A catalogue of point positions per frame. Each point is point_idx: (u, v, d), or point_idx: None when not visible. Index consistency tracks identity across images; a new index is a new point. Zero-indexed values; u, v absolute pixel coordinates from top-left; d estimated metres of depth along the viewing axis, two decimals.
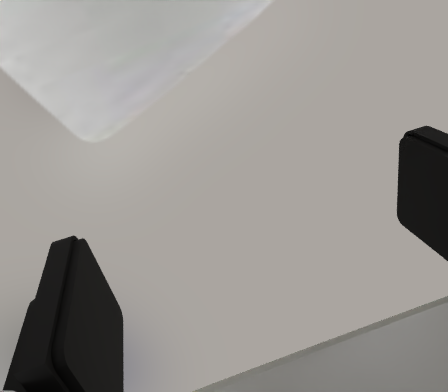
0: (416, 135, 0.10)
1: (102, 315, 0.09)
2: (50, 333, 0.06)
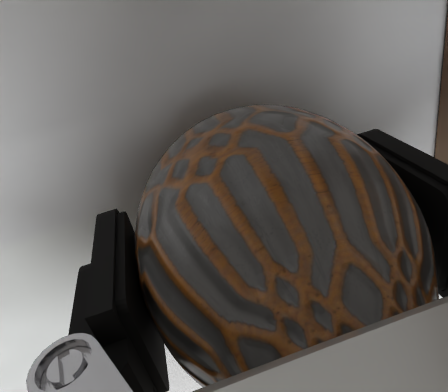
0: (365, 138, 0.10)
1: None
2: (111, 286, 0.07)
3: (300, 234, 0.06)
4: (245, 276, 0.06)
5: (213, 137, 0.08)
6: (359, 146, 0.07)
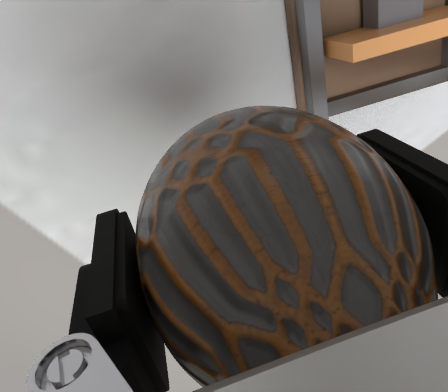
0: (365, 138, 0.10)
1: None
2: (111, 286, 0.07)
3: (300, 235, 0.06)
4: (245, 276, 0.06)
5: (213, 138, 0.08)
6: (359, 147, 0.07)
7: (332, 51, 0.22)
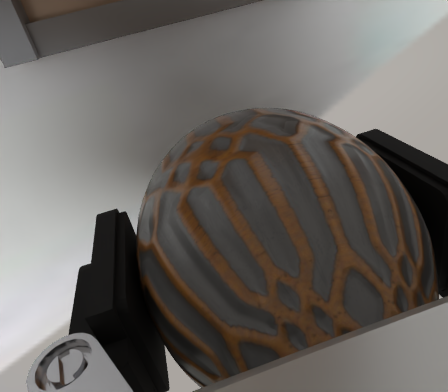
0: (364, 138, 0.10)
1: None
2: (111, 286, 0.07)
3: (301, 238, 0.06)
4: (246, 280, 0.06)
5: (214, 141, 0.08)
6: (360, 150, 0.07)
7: None
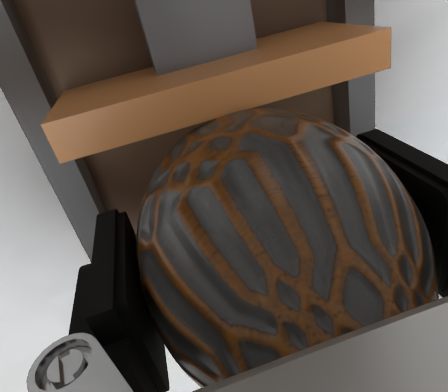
0: (364, 138, 0.10)
1: None
2: (111, 286, 0.07)
3: (301, 238, 0.06)
4: (246, 280, 0.06)
5: (214, 140, 0.08)
6: (359, 149, 0.07)
7: None
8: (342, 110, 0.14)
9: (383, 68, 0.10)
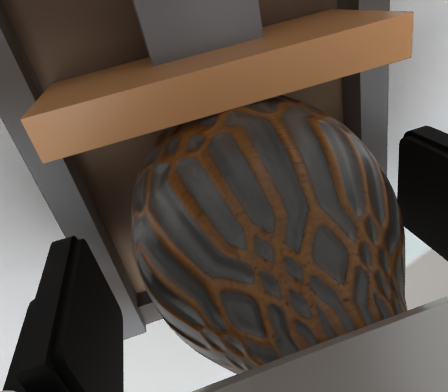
0: (416, 135, 0.10)
1: (102, 315, 0.09)
2: (50, 333, 0.06)
3: (277, 199, 0.07)
4: (227, 237, 0.07)
5: (203, 118, 0.08)
6: (335, 127, 0.08)
7: None
8: (353, 112, 0.13)
9: (403, 57, 0.09)
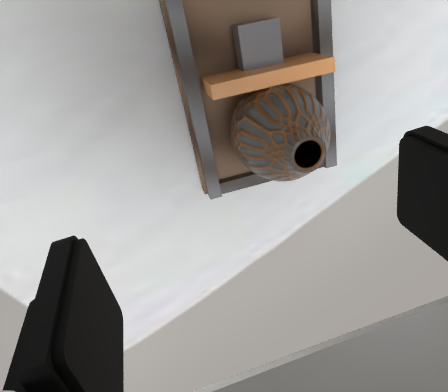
0: (416, 135, 0.10)
1: (102, 315, 0.09)
2: (50, 333, 0.06)
3: (288, 109, 0.23)
4: (274, 119, 0.23)
5: (263, 89, 0.25)
6: (307, 93, 0.25)
7: (205, 88, 0.26)
8: (319, 95, 0.30)
9: (332, 71, 0.26)
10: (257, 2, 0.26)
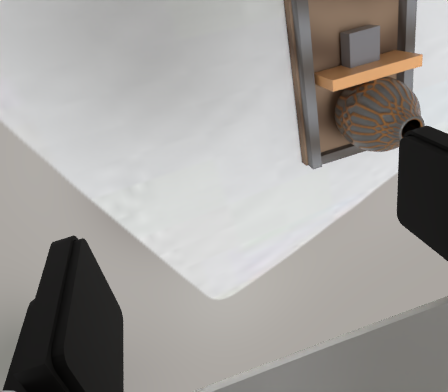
0: (416, 135, 0.10)
1: (102, 315, 0.09)
2: (50, 333, 0.06)
3: (394, 96, 0.31)
4: (383, 104, 0.31)
5: None
6: (403, 83, 0.33)
7: (320, 82, 0.34)
8: None
9: (419, 66, 0.33)
10: (359, 13, 0.34)
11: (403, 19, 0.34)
